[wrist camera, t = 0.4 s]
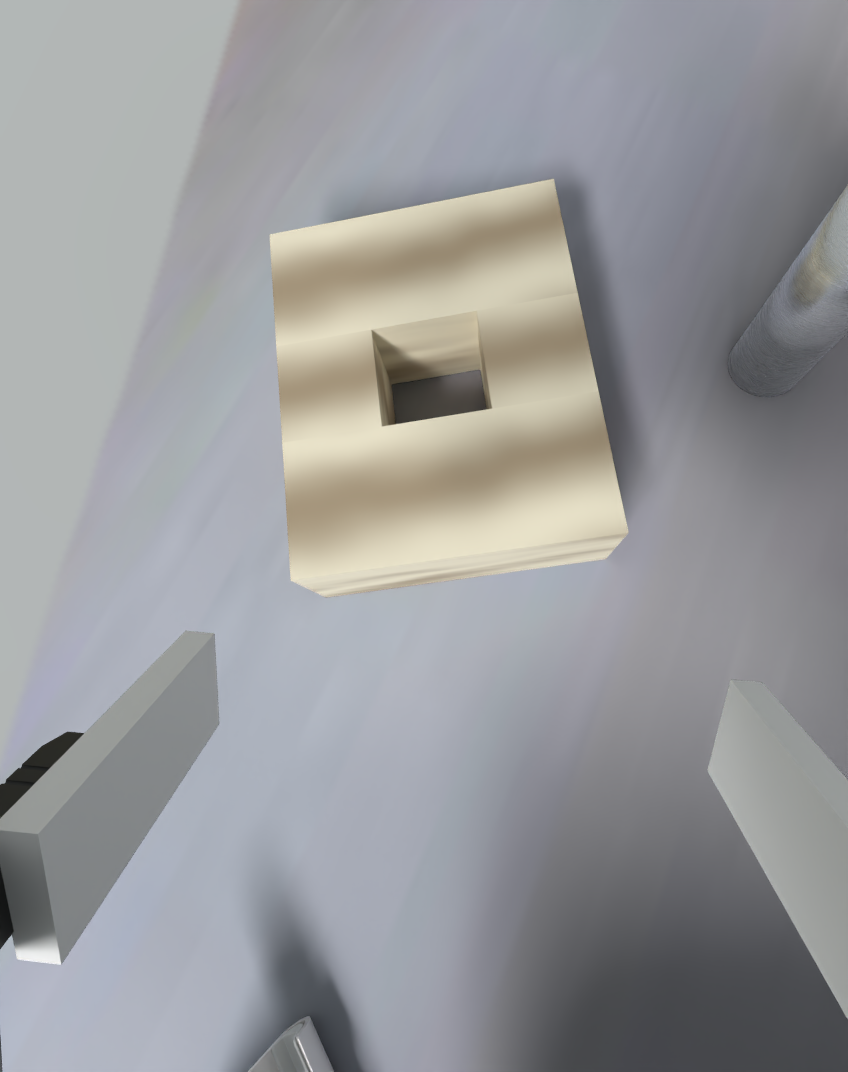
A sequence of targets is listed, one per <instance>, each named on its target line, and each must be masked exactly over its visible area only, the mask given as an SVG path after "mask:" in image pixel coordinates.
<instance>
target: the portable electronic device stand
mask: <svg viewBox="0 0 848 1072" xmlns="http://www.w3.org/2000/svg"><path fill="white" fill-rule="evenodd" d="M248 1072H334V1070H333V1068H332V1066H331V1063H330V1061H329V1059H328V1057H327V1054H326V1052H325V1050H324V1047H323V1045H322V1043H321V1041H320V1038H319V1036H318V1034H317V1032H316V1029H315V1027H314V1025H313V1022H312V1020H311V1018H310V1016H307V1017H304V1018H302V1019H300V1020H298V1021H297V1022H295V1023H294V1024H293V1025H291V1026H290V1027H289V1028H288V1029H287V1030H285V1031H284V1032H283V1033H282V1034H281V1035H280V1036H279V1037H278V1039H277V1040H276V1041H275V1042H274V1043H273V1044H272V1045H271V1046H270V1047H269V1049H268V1050H267V1051H266V1052H265V1053H264V1054H263V1055H262V1056H261V1057H260V1058H259V1060H258V1061H257V1062H256V1063H255V1064H254V1065H253V1066H252V1067H251V1068H250V1070H249V1071H248Z"/></svg>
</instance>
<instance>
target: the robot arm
mask: <svg viewBox="0 0 848 1072" xmlns="http://www.w3.org/2000/svg"><path fill="white" fill-rule="evenodd" d="M218 725H219V707H218V689H217V671H216V652H215V634H214V633H204V632H193V631H185V632H184V633H183V634H182V635H181V636H180V637H179V638H178V639H177V640H176V641H175V642H174V643H173V644H172V645H171V646H170V647H169V648H168V649H167V650H166V651H165V652H164V653H163V654H162V655H161V656H160V657H159V658H158V659H157V660H156V661H155V662H154V663H153V664H152V665H151V666H150V667H149V668H148V669H147V671H146V672H145V673H144V674H143V675H142V676H141V677H140V678H139V679H138V680H137V681H136V682H135V683H134V684H133V685H132V686H131V687H130V688H129V689H128V690H127V691H126V692H125V693H124V694H123V695H122V696H121V697H120V698H119V699H118V700H117V701H116V702H115V703H114V704H113V705H112V706H111V707H110V708H109V709H108V710H107V711H106V712H105V713H104V714H103V715H102V716H101V717H100V718H99V719H98V720H97V721H96V722H95V723H94V724H93V725H92V726H91V727H90V728H89V729H88V730H87V731H86V732H85V733H76V732H66V733H64V734H63V735H61V736H59V737H57V738H56V739H54V740H52V741H50V742H48V743H47V744H45V745H43V746H41V747H40V748H39V749H38V750H37V751H36V752H35V753H34V754H33V755H32V756H31V757H30V758H29V759H28V760H27V761H25V762H24V763H23V764H22V767H21V768H18V769H17V770H16V771H15V772H14V773H13V774H12V775H11V776H9V777H8V778H7V779H6V783H5V784H1V785H0V949H1V947H2V946H3V945H4V944H5V942H6V941H7V940H8V938H9V937H10V936H11V935H12V937H13V941H14V946H15V951H16V956H17V960H25V961H34V962H42V963H51V964H59V965H62V963H63V962H64V960H65V958H66V957H67V955H68V954H69V952H70V951H71V949H72V948H73V946H74V945H75V943H76V942H77V940H78V939H79V937H80V936H81V934H82V933H83V931H84V929H85V928H86V926H87V925H88V923H89V922H90V920H91V919H92V917H93V916H94V914H95V913H96V911H97V910H98V908H99V907H100V905H101V904H102V902H103V901H104V899H105V897H106V896H107V894H108V893H109V891H110V890H111V888H112V887H113V885H114V884H115V882H116V881H117V879H118V878H119V876H120V875H121V873H122V872H123V870H124V869H125V867H126V865H127V864H128V862H129V861H130V859H131V858H132V856H133V855H134V853H135V852H136V850H137V849H138V847H139V846H140V844H141V843H142V841H143V840H144V838H145V836H146V835H147V833H148V832H149V830H150V829H151V827H152V826H153V824H154V823H155V821H156V820H157V818H158V817H159V815H160V814H161V812H162V811H163V809H164V808H165V806H166V804H167V803H168V801H169V800H170V798H171V797H172V795H173V794H174V792H175V791H176V789H177V788H178V786H179V785H180V783H181V782H182V780H183V779H184V777H185V775H186V774H187V772H188V771H189V769H190V768H191V766H192V765H193V763H194V762H195V760H196V759H197V757H198V756H199V754H200V753H201V751H202V750H203V748H204V747H205V745H206V743H207V742H208V740H209V739H210V737H211V736H212V734H213V733H214V731H215V730H216V728H217V727H218ZM708 773H709V775H710V776H711V778H712V780H713V782H714V783H715V785H716V787H717V789H718V791H719V792H720V794H721V796H722V798H723V799H724V801H725V803H726V805H727V806H728V808H729V810H730V812H731V814H732V815H733V817H734V819H735V821H736V822H737V824H738V826H739V828H740V830H741V831H742V833H743V835H744V837H745V838H746V840H747V842H748V844H749V845H750V847H751V849H752V851H753V853H754V854H755V856H756V858H757V860H758V861H759V863H760V865H761V867H762V868H763V870H764V872H765V874H766V876H767V877H768V879H769V881H770V883H771V884H772V886H773V888H774V890H775V892H776V893H777V895H778V897H779V899H780V900H781V902H782V904H783V906H784V907H785V909H786V911H787V913H788V915H789V916H790V918H791V920H792V922H793V923H794V925H795V927H796V929H797V931H798V932H799V934H800V936H801V938H802V939H803V941H804V943H805V945H806V946H807V948H808V950H809V952H810V954H811V955H812V957H813V959H814V961H815V962H816V964H817V966H818V968H819V970H820V971H821V973H822V975H823V977H824V978H825V980H826V982H827V984H828V985H829V987H830V989H831V991H832V993H833V994H834V996H835V998H836V1000H837V1001H838V1003H839V1005H840V1007H841V1008H842V1010H843V1012H844V1014H845V1016H846V1017H847V1019H848V780H847V779H846V778H845V776H844V775H843V774H842V773H841V772H840V771H839V770H838V768H837V767H836V766H835V765H834V764H833V763H832V762H831V760H830V759H829V758H828V757H827V756H826V755H825V754H824V752H823V751H822V750H821V749H820V748H819V747H818V746H817V744H816V743H815V742H814V741H813V740H812V739H811V738H810V736H809V735H808V734H807V733H806V732H805V731H804V730H803V728H802V727H801V726H800V725H799V724H798V723H797V722H796V720H795V719H794V718H793V717H792V716H791V715H790V714H789V712H788V711H787V710H786V709H785V708H784V707H783V706H782V704H781V703H780V702H779V701H778V700H777V699H776V698H775V696H774V695H773V694H772V693H771V692H770V691H769V690H768V688H767V687H766V686H765V685H764V684H763V683H762V682H753V681H742V680H730V684H729V688H728V692H727V696H726V700H725V704H724V708H723V712H722V716H721V720H720V724H719V727H718V731H717V735H716V739H715V743H714V747H713V751H712V755H711V759H710V763H709V767H708ZM0 1072H2V1056H1V1037H0Z"/></svg>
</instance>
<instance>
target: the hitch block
mask: <svg viewBox="0 0 848 1072" xmlns="http://www.w3.org/2000/svg"><path fill="white" fill-rule="evenodd" d="M270 248H271V265H272V281H273V297H274V314H275V330H276V346H277V363H278V379H279V395H280V412H281V428H282V444H283V461H284V477H285V494H286V510H287V526H288V543H289V559H290V575H291V581H293V582H295V583H297V584H299V585H301V586H303V587H305V588H307V589H309V590H312V591H314V592H316V593H318V594H320V595H322V596H324V597H333V596H340V595H348V594H355V593H362V592H369V591H377V590H384V589H391V588H399V587H406V586H413V585H420V584H428V583H435V582H442V581H449V580H457V579H464V578H471V577H478V576H486V575H493V574H500V573H507V572H515V571H522V570H529V569H537V568H544V567H551V566H558V565H566V564H573V563H580V562H587V561H595V560H602V559H606V558H607V557H608V556H609V555H610V554H611V552H612V551H613V550H614V549H615V548H616V547H617V546H618V544H619V543H620V542H621V541H622V540H623V539H624V537H625V536H626V535H627V534H628V528H627V523H626V519H625V514H624V509H623V504H622V500H621V495H620V490H619V486H618V481H617V476H616V471H615V467H614V462H613V457H612V452H611V448H610V443H609V438H608V434H607V429H606V424H605V419H604V415H603V410H602V405H601V401H600V396H599V391H598V386H597V382H596V377H595V372H594V367H593V363H592V358H591V353H590V349H589V344H588V339H587V334H586V330H585V325H584V320H583V315H582V311H581V306H580V301H579V297H578V292H577V287H576V282H575V278H574V273H573V268H572V263H571V259H570V254H569V249H568V245H567V240H566V235H565V230H564V226H563V221H562V216H561V212H560V207H559V202H558V197H557V193H556V188H555V183H554V179H550V180H545V181H540V182H535V183H529V184H524V185H519V186H514V187H509V188H504V189H499V190H494V191H489V192H484V193H479V194H474V195H468V196H463V197H458V198H453V199H448V200H443V201H438V202H433V203H428V204H423V205H418V206H413V207H408V208H402V209H397V210H392V211H387V212H382V213H377V214H372V215H367V216H362V217H357V218H352V219H347V220H342V221H336V222H331V223H326V224H321V225H316V226H311V227H306V228H301V229H296V230H291V231H286V232H281V233H275V234H270ZM474 370H480V371H481V377H482V383H483V390H484V396H485V402H486V410H480V411H474V412H468V413H462V414H456V415H450V416H444V417H437V418H431V419H425V420H419V421H413V422H407V423H401V424H396V421H395V412H394V403H393V395H392V386H391V384H397V383H403V382H409V381H415V380H421V379H427V378H433V377H439V376H445V375H450V374H456V373H462V372H468V371H474Z"/></svg>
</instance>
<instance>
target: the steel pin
mask: <svg viewBox="0 0 848 1072" xmlns="http://www.w3.org/2000/svg"><path fill="white" fill-rule="evenodd" d="M847 332H848V185H847V186H846V188H845V189H844V191H843V192H842V194H841V195H840V196H839V198H838V199H837V201H836V202H835V204H834V205H833V206H832V208H831V209H830V211H829V212H828V214H827V215H826V216H825V218H824V219H823V221H822V222H821V224H820V225H819V226H818V228H817V229H816V231H815V232H814V234H813V235H812V236H811V238H810V239H809V241H808V242H807V243H806V245H805V246H804V248H803V249H802V251H801V252H800V253H799V255H798V256H797V258H796V259H795V261H794V262H793V263H792V265H791V266H790V268H789V269H788V271H787V272H786V273H785V275H784V276H783V278H782V279H781V281H780V282H779V283H778V285H777V286H776V288H775V289H774V291H773V292H772V293H771V295H770V296H769V298H768V299H767V301H766V302H765V303H764V305H763V306H762V308H761V309H760V311H759V312H758V313H757V315H756V316H755V318H754V319H753V321H752V322H751V323H750V325H749V326H748V328H747V329H746V331H745V332H744V333H743V335H742V336H741V338H740V339H739V341H738V342H737V343H736V345H735V346H734V348H733V349H732V351H731V353H730V355H729V358H728V370H729V373H730V376H731V378H732V379H733V381H734V382H735V383H736V384H737V386H739V387H740V388H741V389H742V390H744V391H746V392H748V393H750V394H752V395H756V396H760V397H774V396H778V395H781V394H783V393H785V392H787V391H789V390H790V389H791V388H793V387H794V386H795V385H796V384H797V383H798V382H799V381H800V380H801V379H802V378H803V377H804V376H805V375H806V374H807V373H808V372H809V371H810V370H811V369H812V368H813V367H814V366H815V365H816V364H817V363H818V362H819V361H820V360H821V359H822V358H823V357H824V356H825V355H826V354H827V353H828V352H829V351H830V350H831V349H832V348H833V347H834V346H835V345H836V344H837V343H838V342H839V341H840V340H841V339H842V337H843V336H844V335H845V334H846V333H847Z"/></svg>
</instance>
